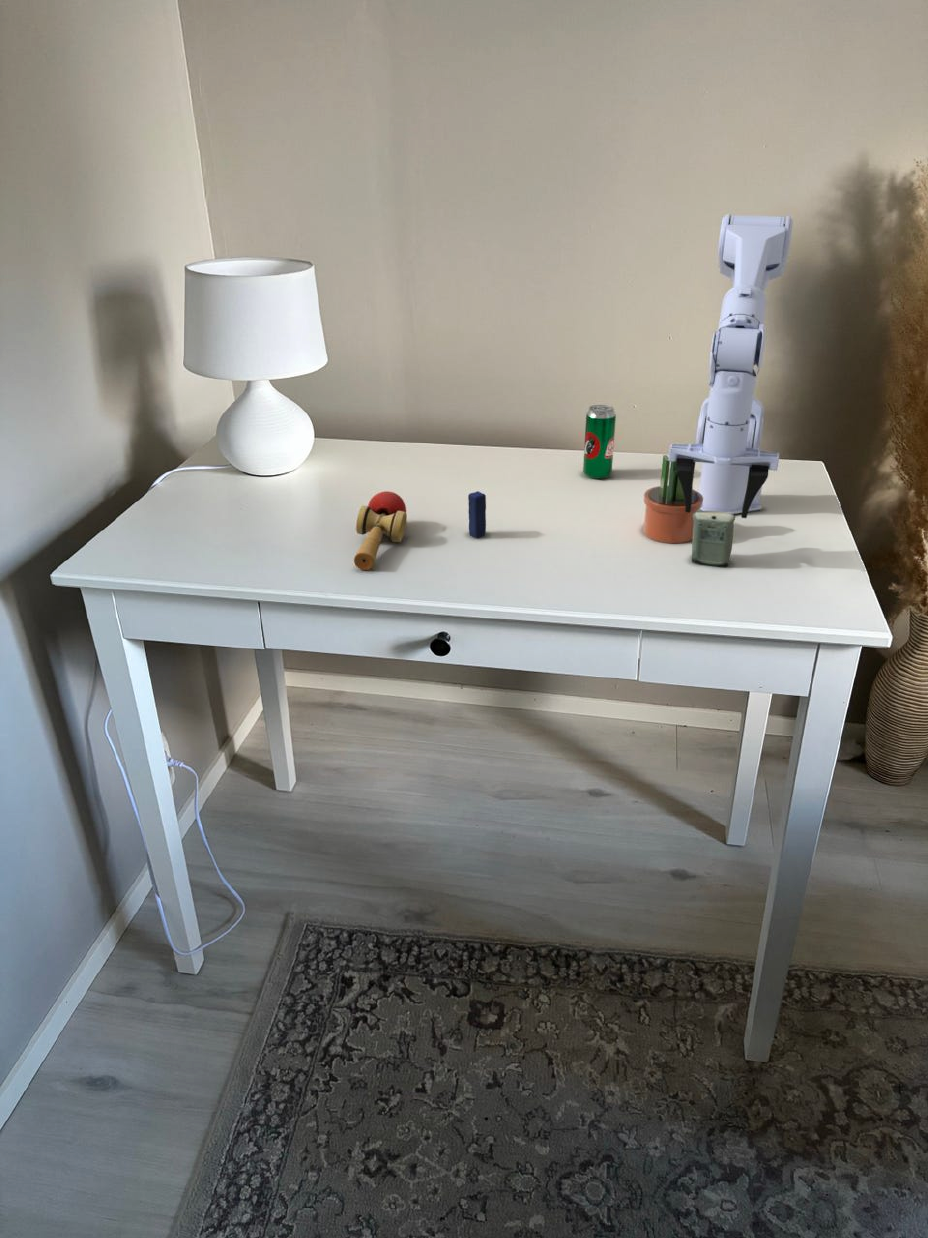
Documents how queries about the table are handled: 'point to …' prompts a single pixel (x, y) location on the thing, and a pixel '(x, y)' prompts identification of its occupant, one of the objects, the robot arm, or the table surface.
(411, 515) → the table surface
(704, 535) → the pale green rounded block
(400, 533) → the kendama
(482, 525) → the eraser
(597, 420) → the soda can
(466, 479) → the table surface
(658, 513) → the plant
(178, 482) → the table surface
